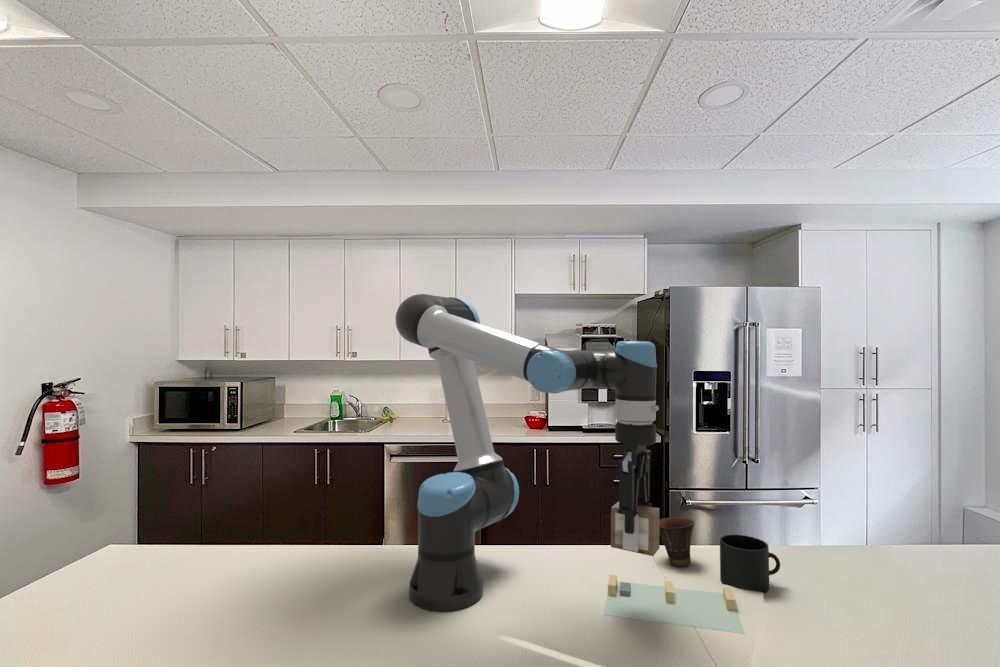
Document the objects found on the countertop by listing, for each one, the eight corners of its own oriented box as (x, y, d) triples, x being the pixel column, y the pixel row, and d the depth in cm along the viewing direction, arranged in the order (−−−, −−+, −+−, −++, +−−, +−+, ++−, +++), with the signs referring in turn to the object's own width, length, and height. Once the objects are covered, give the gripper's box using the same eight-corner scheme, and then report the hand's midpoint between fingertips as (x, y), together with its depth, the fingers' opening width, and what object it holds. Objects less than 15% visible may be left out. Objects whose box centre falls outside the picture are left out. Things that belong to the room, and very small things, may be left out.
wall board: (603, 620, 96) (603, 603, 96) (609, 585, 110) (609, 570, 110) (745, 639, 89) (744, 621, 89) (731, 599, 103) (731, 584, 104)
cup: (652, 554, 127) (651, 513, 127) (690, 556, 125) (689, 514, 126) (657, 569, 118) (657, 525, 118) (698, 571, 117) (698, 527, 117)
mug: (790, 597, 104) (789, 552, 105) (728, 594, 106) (727, 549, 106) (771, 577, 114) (770, 535, 114) (714, 574, 115) (714, 533, 116)
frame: (610, 547, 98) (610, 507, 98) (618, 539, 102) (618, 501, 102) (653, 556, 94) (653, 514, 94) (659, 548, 98) (659, 508, 98)
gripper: (642, 429, 89) (641, 566, 88) (666, 418, 104) (666, 534, 104) (600, 425, 93) (599, 556, 92) (629, 415, 108) (629, 527, 108)
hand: (634, 544), depth 98 cm, fingers closed on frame, 5 cm apart
